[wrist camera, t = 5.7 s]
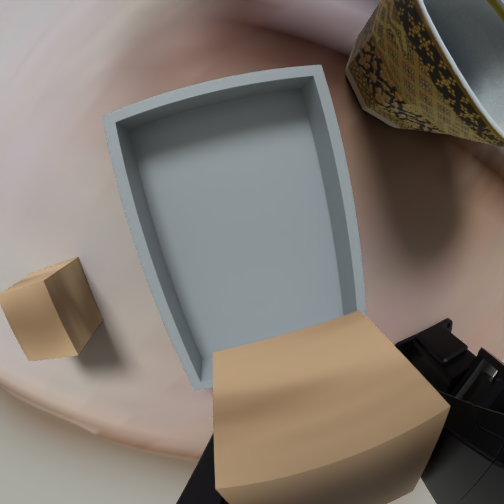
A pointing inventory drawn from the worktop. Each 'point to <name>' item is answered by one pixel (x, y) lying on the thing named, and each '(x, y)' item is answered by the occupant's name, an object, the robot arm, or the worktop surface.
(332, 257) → the tray
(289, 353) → the block
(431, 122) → the ceramic cup
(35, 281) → the block
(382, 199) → the worktop surface
